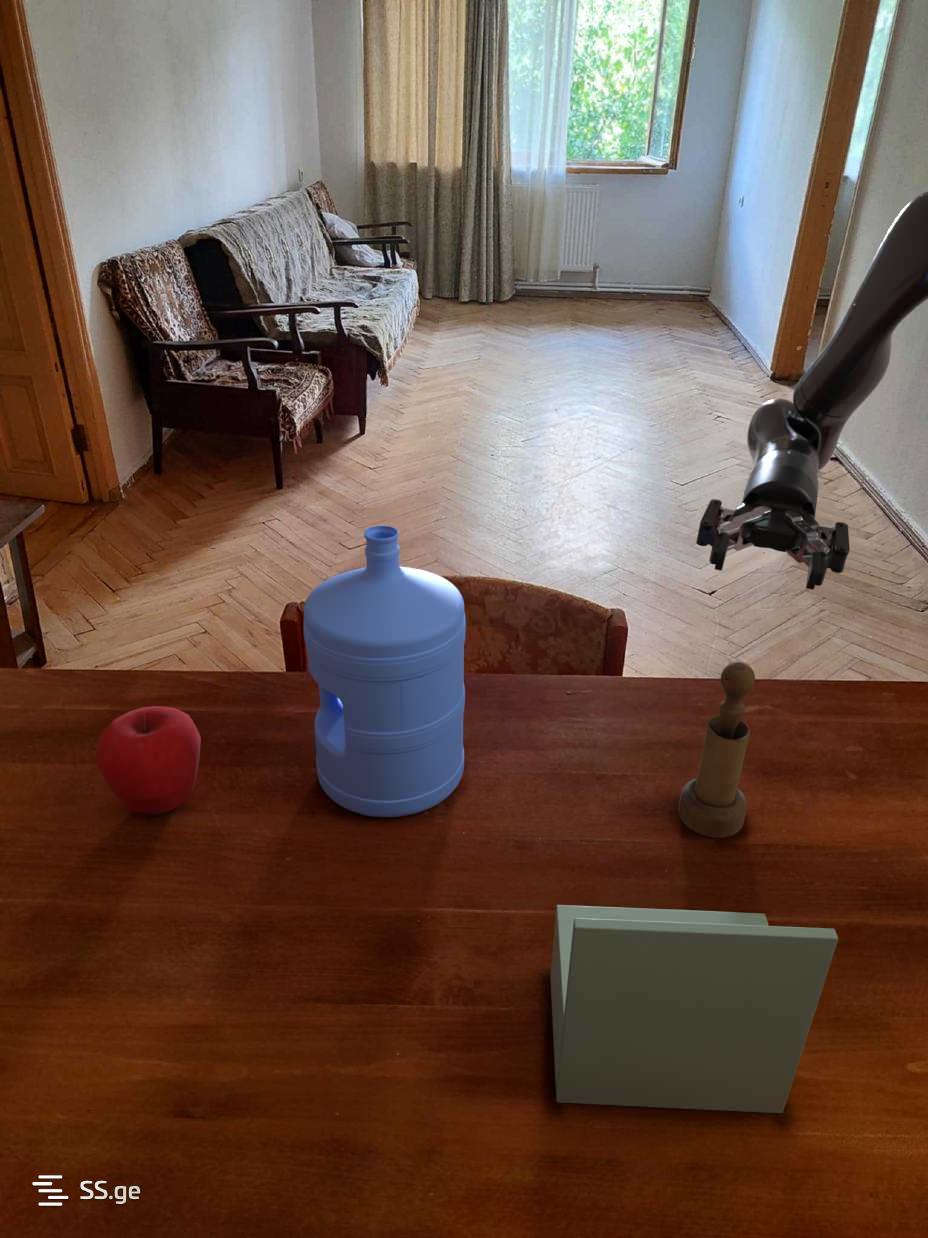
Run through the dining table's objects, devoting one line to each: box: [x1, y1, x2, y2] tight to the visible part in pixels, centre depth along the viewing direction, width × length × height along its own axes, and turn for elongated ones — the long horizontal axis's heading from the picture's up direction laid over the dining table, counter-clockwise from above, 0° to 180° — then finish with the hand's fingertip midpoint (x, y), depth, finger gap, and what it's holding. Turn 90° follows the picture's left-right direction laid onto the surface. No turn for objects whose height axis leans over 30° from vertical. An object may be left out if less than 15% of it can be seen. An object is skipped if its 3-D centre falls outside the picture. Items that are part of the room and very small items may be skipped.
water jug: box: [303, 525, 467, 818], centre depth 88 cm, size 16×16×28 cm
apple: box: [94, 705, 202, 815], centre depth 87 cm, size 10×10×11 cm
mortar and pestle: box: [677, 661, 756, 839], centre depth 85 cm, size 7×6×18 cm
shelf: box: [549, 904, 839, 1114], centre depth 63 cm, size 16×11×18 cm
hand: (765, 571), depth 84 cm, fingers open, 8 cm apart
